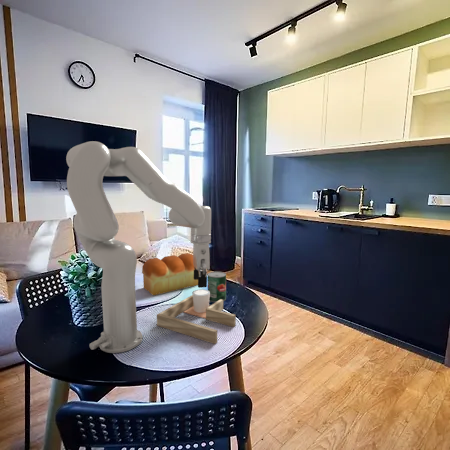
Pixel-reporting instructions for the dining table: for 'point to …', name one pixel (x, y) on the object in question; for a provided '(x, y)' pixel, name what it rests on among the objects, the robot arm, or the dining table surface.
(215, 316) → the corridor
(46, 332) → the dining table surface
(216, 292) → the canned tomato
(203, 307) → the shot glass
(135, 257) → the robot arm
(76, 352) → the dining table surface
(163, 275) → the bread
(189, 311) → the pad
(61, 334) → the dining table surface
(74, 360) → the dining table surface
